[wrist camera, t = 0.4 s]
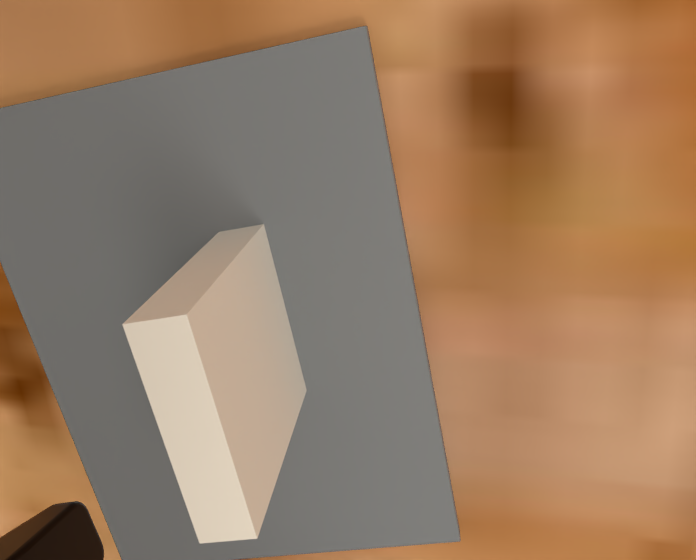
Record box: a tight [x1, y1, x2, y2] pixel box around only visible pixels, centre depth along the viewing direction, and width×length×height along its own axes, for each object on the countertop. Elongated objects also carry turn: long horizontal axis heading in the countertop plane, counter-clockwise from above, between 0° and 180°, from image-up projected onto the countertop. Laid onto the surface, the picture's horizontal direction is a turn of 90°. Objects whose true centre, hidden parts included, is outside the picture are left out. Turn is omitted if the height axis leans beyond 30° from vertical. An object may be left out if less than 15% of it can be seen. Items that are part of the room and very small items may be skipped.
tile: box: [122, 224, 307, 544], centre depth 18 cm, size 6×2×7 cm, turn 12°
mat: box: [0, 26, 460, 560], centre depth 22 cm, size 18×14×1 cm
